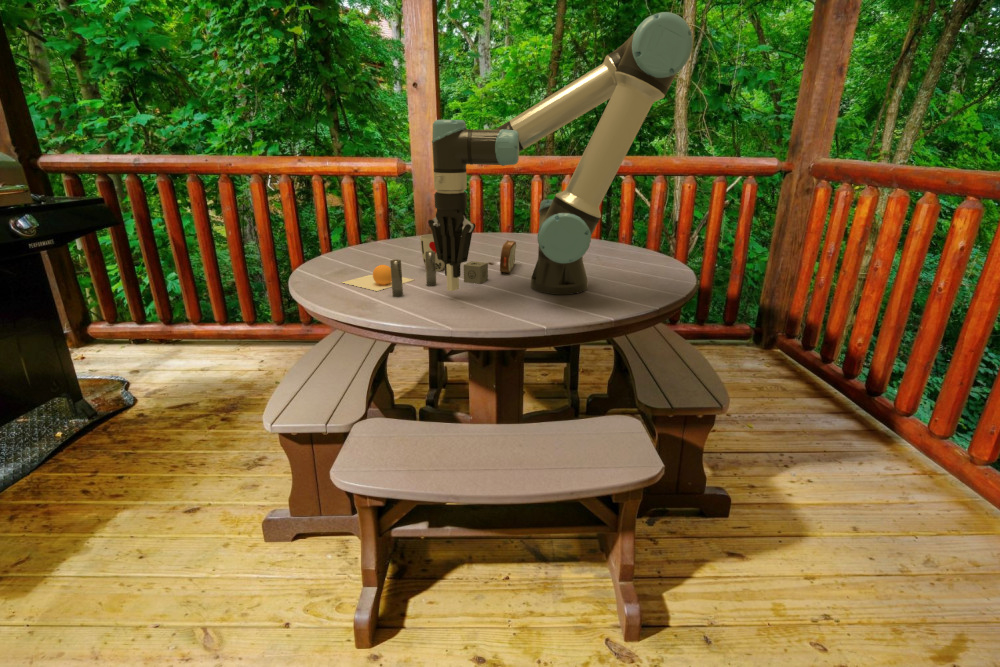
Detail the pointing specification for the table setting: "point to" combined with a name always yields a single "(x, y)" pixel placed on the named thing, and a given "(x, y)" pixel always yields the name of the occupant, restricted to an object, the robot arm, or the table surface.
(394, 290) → the left post
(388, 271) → the ball
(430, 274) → the right post
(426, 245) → the cup
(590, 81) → the robot arm
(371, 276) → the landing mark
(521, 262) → the table surface
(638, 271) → the table surface
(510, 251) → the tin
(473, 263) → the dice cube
